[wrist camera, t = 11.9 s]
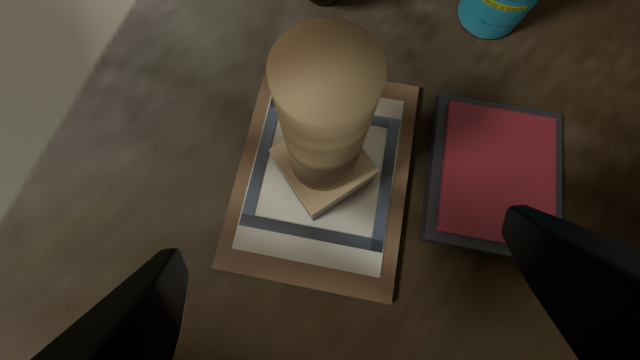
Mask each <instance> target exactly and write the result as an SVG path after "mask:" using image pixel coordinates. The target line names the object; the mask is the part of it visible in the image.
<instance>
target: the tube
mask: <svg viewBox="0 0 640 360" xmlns="http://www.w3.org/2000/svg"><path fill="white" fill-rule="evenodd" d="M537 2H538V0H461V2H460V4H459V7H458V16H459V20H460V22H461V24H462V26H463V27H464V28H465V29H467V30H468V31H469V32H470V33H472V34H473V35H475V36H477V37H479V38H484V39H497V38H501V37H503V36H505V35H507V34H508V33H509V32H511V31H512V29H513V28H514V27H515V26H516V25H517V24H518V23H519V22H520V21H521V20H522V19H523V17H524V16H525V15H526V14H527V13H528V12H529V11H530V9H531V8H532V7H533V6H534V5H535V4H536V3H537Z"/></svg>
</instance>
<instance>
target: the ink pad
mask: <svg viewBox="0 0 640 360" xmlns="http://www.w3.org/2000/svg"><path fill="white" fill-rule="evenodd" d="M514 205H528V206H530V207H533V208H535V209H538V210H540V211H543V212H545V213H548V214H551V215H553V216H556V217H558V218H561V219H562V114H559V113H553V112H547V111H541V110H535V109H530V108H524V107H518V106H512V105H506V104H500V103H494V102H488V101H482V100H477V99H471V98H465V97H459V96H453V95H447V94H441V93H440V94H439V95H438V97H437V98H436V100H435V108H434V117H433V126H432V135H431V144H430V153H429V162H428V171H427V180H426V189H425V198H424V207H423V216H422V225H421V234H420V240H421V241H426V242H431V243H437V244H442V245H447V246H452V247H457V248H463V249H468V250H473V251H478V252H483V253H489V254H494V255H499V256H504V257H509V258H513V256H512V254H511V252H510V251H509V249H508V247H507V245H506V243H505V241H504V239H503V237H502V234H501V228H502V224H503V221H504V217H505V213H506V210H507V208H508V207H510V206H514Z"/></svg>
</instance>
